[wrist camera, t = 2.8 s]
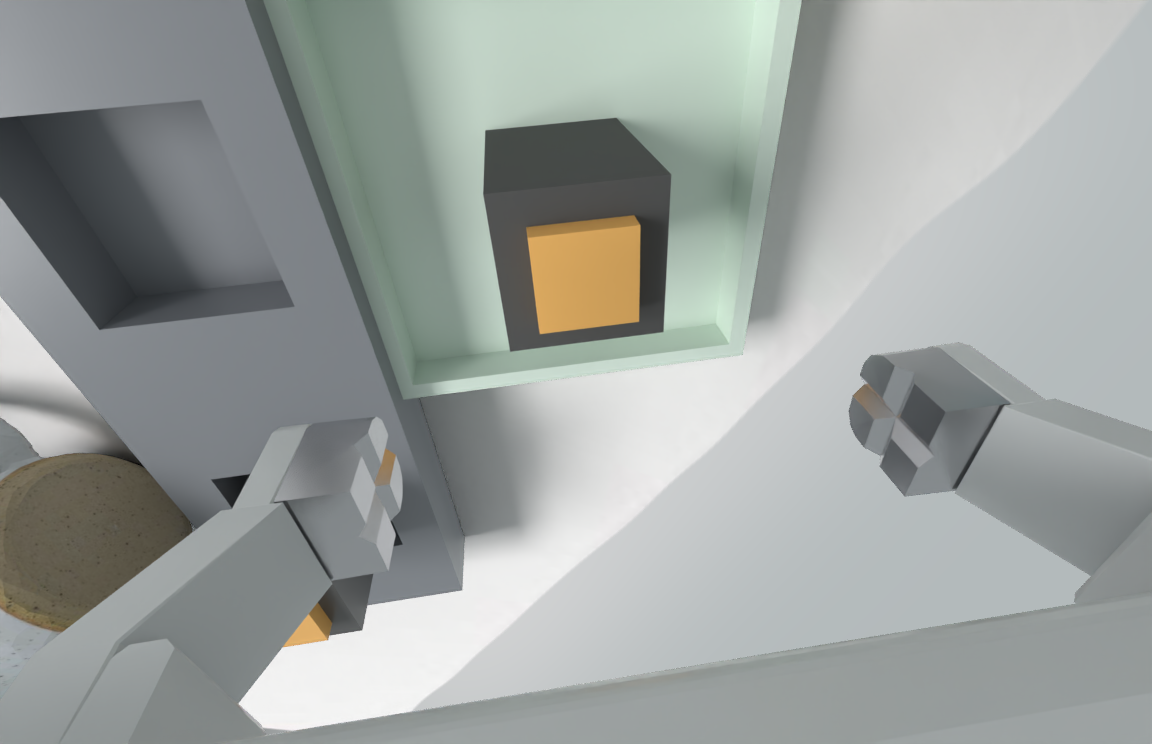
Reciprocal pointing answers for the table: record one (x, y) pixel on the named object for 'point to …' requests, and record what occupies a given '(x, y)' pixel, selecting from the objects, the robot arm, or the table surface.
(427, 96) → the tray
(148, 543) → the ceramic mug
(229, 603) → the robot arm
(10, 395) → the table surface
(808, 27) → the table surface
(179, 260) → the power strip
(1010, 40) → the table surface
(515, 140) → the plug
